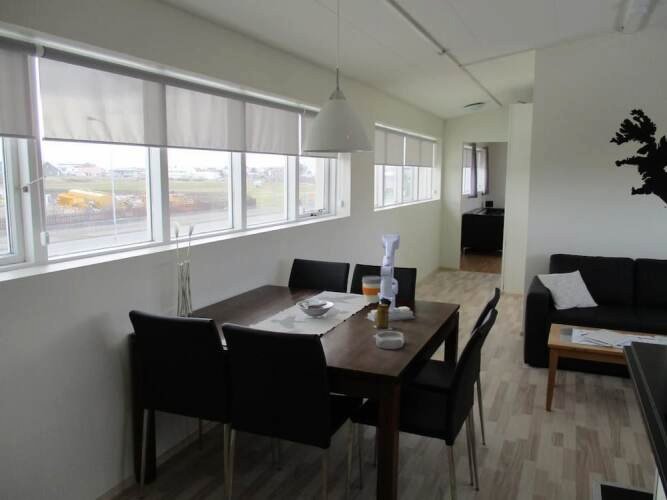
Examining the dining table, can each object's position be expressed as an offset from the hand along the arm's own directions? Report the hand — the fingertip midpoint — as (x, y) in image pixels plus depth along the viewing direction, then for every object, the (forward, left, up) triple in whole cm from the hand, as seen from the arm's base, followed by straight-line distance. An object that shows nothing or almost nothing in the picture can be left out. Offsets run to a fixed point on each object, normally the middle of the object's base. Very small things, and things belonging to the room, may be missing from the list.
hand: (385, 311), depth 299 cm
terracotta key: (0, 0, -3) cm, 3 cm away
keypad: (0, +3, -4) cm, 5 cm away
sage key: (0, -6, -2) cm, 6 cm away
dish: (+40, -23, -4) cm, 46 cm away
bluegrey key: (0, +6, -2) cm, 6 cm away
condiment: (+15, -11, -4) cm, 19 cm away
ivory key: (0, +12, -2) cm, 12 cm away
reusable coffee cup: (-37, +13, -4) cm, 39 cm away
